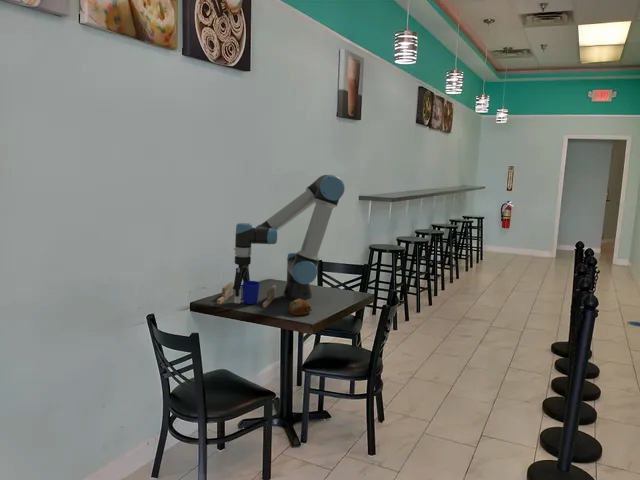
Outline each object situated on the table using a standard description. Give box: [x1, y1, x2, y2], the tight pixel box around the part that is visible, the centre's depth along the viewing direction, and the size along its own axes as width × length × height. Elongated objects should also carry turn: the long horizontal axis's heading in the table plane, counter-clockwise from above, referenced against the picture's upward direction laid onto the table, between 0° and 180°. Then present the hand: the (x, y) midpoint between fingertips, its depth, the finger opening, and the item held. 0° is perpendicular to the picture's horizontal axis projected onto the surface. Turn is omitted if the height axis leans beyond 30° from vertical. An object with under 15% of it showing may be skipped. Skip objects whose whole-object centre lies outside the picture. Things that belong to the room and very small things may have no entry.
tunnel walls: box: [221, 282, 277, 304], centre depth 260 cm, size 24×14×6 cm, turn 83°
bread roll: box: [288, 299, 313, 316], centre depth 235 cm, size 10×10×8 cm
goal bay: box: [216, 296, 270, 308], centre depth 249 cm, size 24×7×2 cm, turn 83°
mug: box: [237, 280, 261, 305], centre depth 250 cm, size 8×12×10 cm
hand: (241, 299), depth 247 cm, fingers open, 13 cm apart
